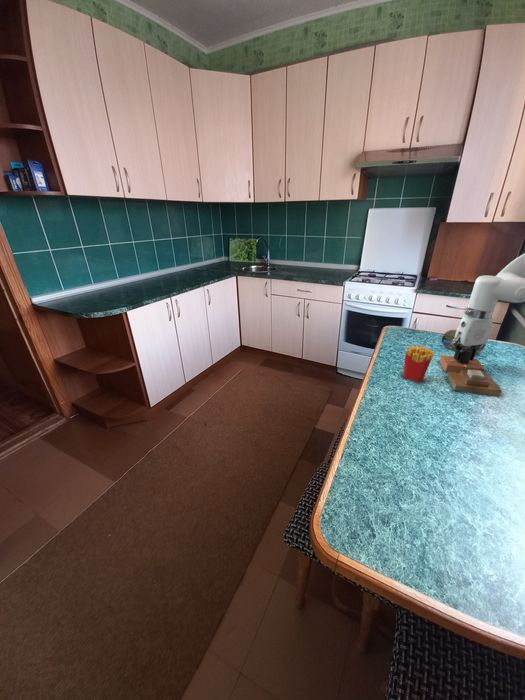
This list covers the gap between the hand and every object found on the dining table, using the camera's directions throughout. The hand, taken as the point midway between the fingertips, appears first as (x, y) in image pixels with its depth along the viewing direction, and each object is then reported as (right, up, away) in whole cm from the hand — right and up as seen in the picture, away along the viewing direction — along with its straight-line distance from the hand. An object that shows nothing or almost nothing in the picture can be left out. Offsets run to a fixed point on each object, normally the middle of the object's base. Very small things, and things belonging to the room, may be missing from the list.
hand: (463, 359), depth 108 cm
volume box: (0, -4, +2) cm, 4 cm away
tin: (+9, +3, +15) cm, 18 cm away
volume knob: (0, -1, 0) cm, 1 cm away
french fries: (-20, -7, -3) cm, 22 cm away
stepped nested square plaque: (-3, -9, -8) cm, 13 cm away
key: (-3, -6, -10) cm, 12 cm away
